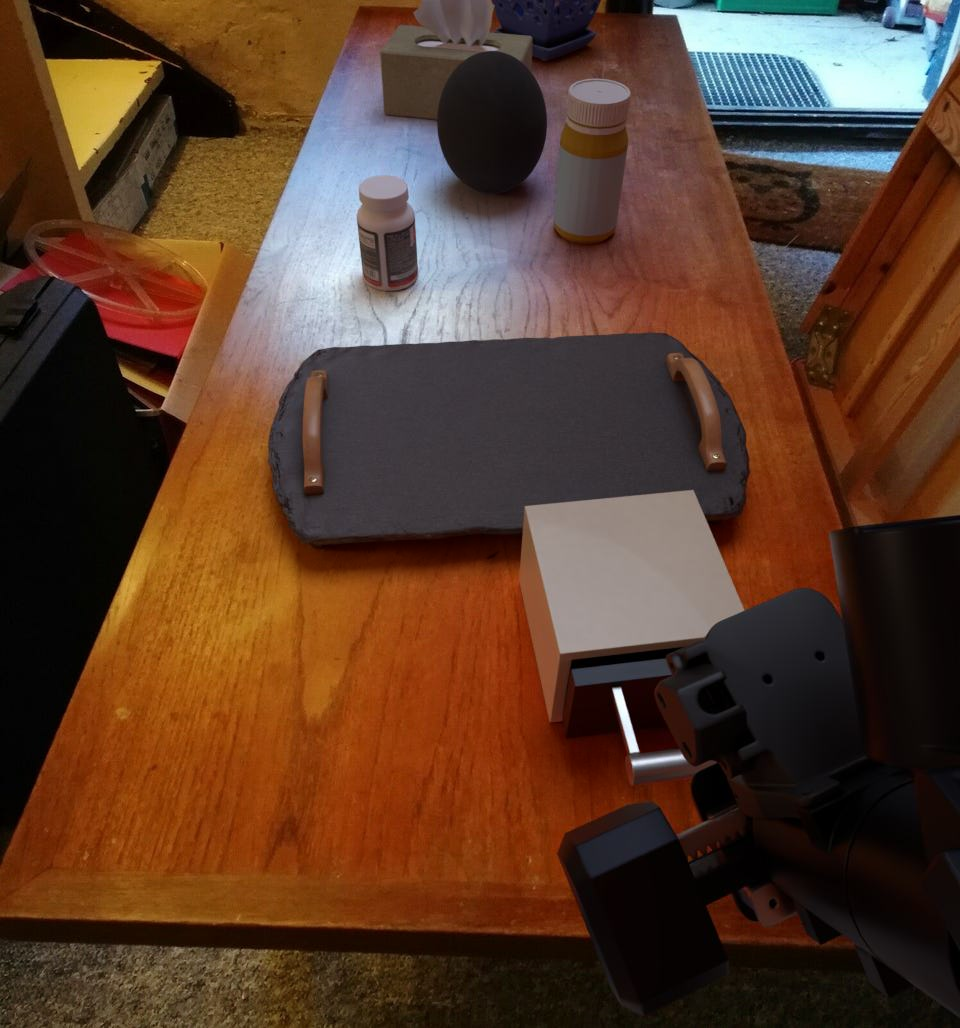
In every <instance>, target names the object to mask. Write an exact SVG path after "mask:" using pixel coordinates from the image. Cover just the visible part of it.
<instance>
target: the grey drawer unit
mask: <svg viewBox="0 0 960 1028" xmlns="http://www.w3.org/2000/svg"><path fill="white" fill-rule="evenodd" d="M518 576H519V578H518V582H519V587H520V591H521V596H522V601H523V606H524V611H525V616H526V619H527V620H526V621H527V624H528V629H529V633H530V638H531V641H532V642H531V643H532V648H533V652H534V657H535V661H536V667H537V670H538V675H539V680H540V685H541V689H542V694H543V698H544V702H545V708H546V713H547V716H548V717H547V718H548V722H549V723H556V722H557V723H558V722H559V723H560V722H562V718H563V712H564V706H565V700H566V695H567V685H568V680H569V674H570V668H571V662H572V660H574V659H583V658H592V657H600V656H609V655H617V654H626V653H635V652H643V651H652V650H661V649H669V648H678V647H686V646H688V645H691V644H693V643H695V642H698V641H700V640H702V639H704V638H705V636H706V635H707V633H708V632H709V630H710V629H711V628H712V627H713V626H714V625H715V624H716V623H718V622H719V621H721V620H724V619H726V618H728V617H731V616H733V615H735V614H738V613H740V612H742V611H745V610H746V609H745V607H744V605H743V603H742V601H741V598H740V596H739V594H738V592H737V589H736V586H735V585H734V582H733V579H732V577H731V574H730V572H729V570H728V568H727V566H726V563H725V561H724V558H723V555H722V553H721V551H720V549H719V547H718V545H717V541H716V539H715V538H714V535H713V532H712V530H711V528H710V525H709V523H708V521H706V518H705V516H704V514H703V511H702V509H701V507H700V504H699V502H698V499H697V497H696V495H695V492H694V490H687V491H677V492H667V493H656V494H646V495H635V496H625V497H615V498H604V499H594V500H584V501H573V502H563V503H552V504H542V505H532V506H525V508H524V522H523V534H522V537H521V549H520V562H519V575H518Z"/></svg>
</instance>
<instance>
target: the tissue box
mask: <svg viewBox="0 0 960 1028" xmlns="http://www.w3.org/2000/svg"><path fill="white" fill-rule="evenodd" d="M494 7H495V5H494V4H493V3H492V1H491V0H421V2H420V4H419V6H418V8H417V9H415V10H414V11H413V12H412V14H413V16H414V18H415V20H416V21H417V23H418V24H419V25H420V26H417V25H407V24H399V25H398V26H397V28H395V29H396V30H395V31H394V32H393V33H392V35H391V36H390V38H389V39H388V40H387V42H386V43H385V45H384V46H383V47H382V49H381V50H380V52H379V56H380V57H379V58H380V73H381V88H382V100H383V102H382V103H383V114H384V115H386V116H395V117H404V118H413V119H414V118H415V119H425V120H433V121H437V113H438V105H439V101H440V97H441V94H442V91H443V88H444V86H445V84H446V82H447V80H448V78H449V77H450V75H451V74H452V72H453V71H454V70H455V69H456V68H457V66H458V65H459V64H461V63H462V62H463V61H464V60H466V59H467V58H469V57H470V56H472V55H475V54H477V53H480V52H485V51H498V52H503V53H506V54H509V55H511V56H513V57H515V58H516V59H518V60H519V61H521V62H522V63H523V64H524V65H525V66H526V67H527V68H528V69H529V70H530V71H531V73H533V56H532V37H531V36H526V35H514V34H503V33H494V32H490V30H491V26H492V23H493V22H492V21H493V14H494V13H493V12H494V11H495V10H494Z"/></svg>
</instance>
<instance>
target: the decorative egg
mask: <svg viewBox="0 0 960 1028" xmlns="http://www.w3.org/2000/svg"><path fill="white" fill-rule="evenodd" d="M547 113H548V112H547V105H546V100H545V98H544V93H543V91H542V88H541V86H540V85H539V82H538V81H537V79H536V77H535V75H534V74H533V72H531V71H530V70H529V69H528V68H527V67H526V66H525V65H524V64H523V63H522V62H521V61H519V60H518V59H516V58H515V57H513V56H511V55H509V54H506V53H503V52H498V51H485V52H480V53H477V54H475V55H472V56H470V57H469V58H467V59H466V60H464V61H463V62H462V63H461V64H459V65H458V66H457V68H456V69H455V70H454V71H453V72H452V74H451V75H450V77H449V78H448V80H447V82H446V84H445V86H444V88H443V91H442V94H441V97H440V101H439V105H438V113H437V120H436V126H437V127H436V129H437V137H438V143H439V147H440V149H441V153H442V155H443V157H444V160H445V162H446V164H447V166H448V167H449V168H450V170H451V172H452V173H453V174H454V175H455V177H456V178H457V179H458V180H459V181H461V183H463V184H464V185H466V186H467V187H468V188H470V189H472V190H473V191H474V190H475V191H477V192H479V193H483V194H501V193H506V192H508V191H511V190H513V189H515V188H517V187H518V186H519V185H521V184H522V183H523V182H524V181H525V180H527V178H528V177H529V176H530V175H531V174H532V173H533V171H534V170H535V169H536V167H537V165H538V163H539V162H540V159H541V156H542V153H543V151H544V148H545V144H546V140H547V134H548V133H547V132H548V114H547Z"/></svg>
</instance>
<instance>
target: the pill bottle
mask: <svg viewBox="0 0 960 1028" xmlns="http://www.w3.org/2000/svg"><path fill="white" fill-rule="evenodd" d="M409 196H410V195H409V187H408V183H407V182H406V180H404V179H403V178H401V177H398V176H396V175H389V174H381V175H380V174H379V175H374V176H369V177H367V178H365V179H364V180H362V181H361V182H360V183H359V185H358V198H359V202H360V203H361V205H360V206H359V208H358V209H357V212H356V223H357V225H356V226H357V233H358V243H359V252H360V260H361V271H362V277H363V280H364V281H365V283H366V284H367V285H368V286H369V287H371V288H372V289H375V290H379V291H385V292H395V291H400V290H403V289H406V288H408V287H410V286H411V285H413V284H414V283H415V282H416V280H417V278H418V276H419V264H418V248H417V231H416V230H417V229H416V214H415V210H414V207H412V205H411V204H410V203H409V202H408V201H409Z"/></svg>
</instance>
